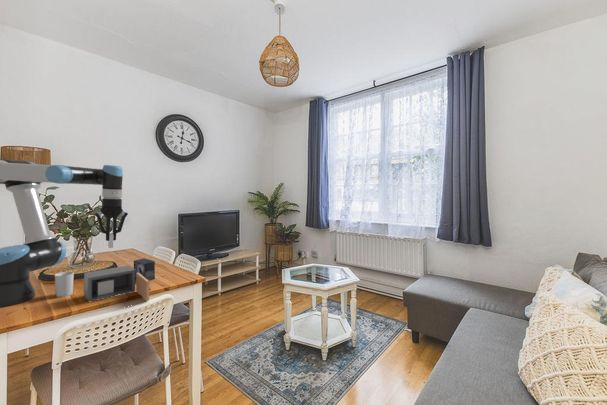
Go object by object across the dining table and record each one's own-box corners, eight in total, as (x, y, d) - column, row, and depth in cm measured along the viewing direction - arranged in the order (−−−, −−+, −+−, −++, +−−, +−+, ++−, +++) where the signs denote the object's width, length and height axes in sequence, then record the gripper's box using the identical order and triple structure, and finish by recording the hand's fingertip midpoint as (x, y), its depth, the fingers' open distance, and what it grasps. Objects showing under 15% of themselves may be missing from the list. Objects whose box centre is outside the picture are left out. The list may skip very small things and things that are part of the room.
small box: (132, 278, 145) (132, 260, 145) (144, 275, 151) (144, 257, 150) (143, 282, 140) (143, 263, 140) (155, 279, 146) (155, 260, 146)
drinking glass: (74, 294, 121) (74, 274, 121) (54, 298, 117) (54, 276, 116) (73, 290, 126) (73, 270, 126) (54, 294, 122) (54, 273, 121)
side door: (151, 299, 118) (151, 280, 118) (146, 301, 117) (146, 281, 116) (140, 289, 129) (141, 272, 129) (136, 290, 128) (136, 272, 127)
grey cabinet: (88, 302, 114) (88, 278, 114) (84, 295, 121) (84, 272, 120) (135, 291, 128) (135, 269, 127) (129, 286, 134) (129, 265, 134)
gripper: (95, 198, 115) (94, 250, 116) (130, 199, 124) (128, 247, 125) (93, 197, 120) (92, 247, 121) (126, 198, 129) (125, 244, 130)
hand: (110, 247), depth 123 cm, fingers closed
